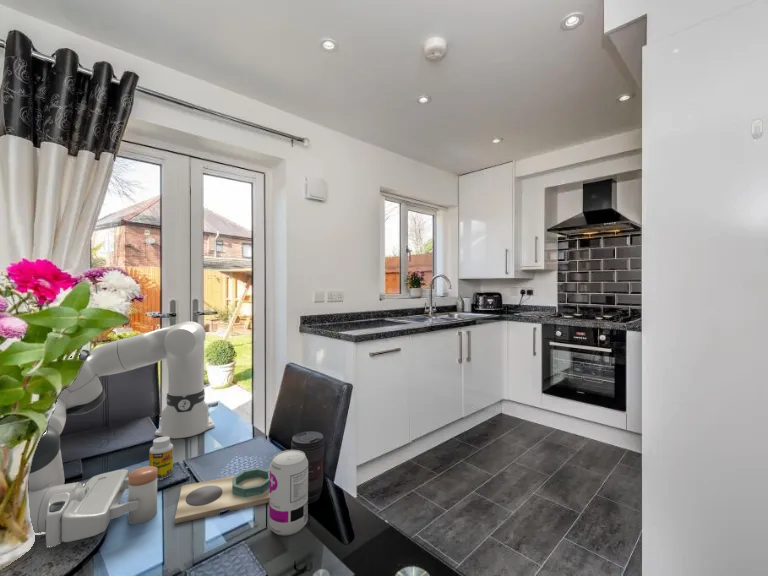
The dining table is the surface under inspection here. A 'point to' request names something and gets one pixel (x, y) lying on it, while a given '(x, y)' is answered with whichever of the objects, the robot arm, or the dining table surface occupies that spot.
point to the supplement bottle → (162, 456)
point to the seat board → (223, 494)
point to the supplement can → (288, 492)
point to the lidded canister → (143, 493)
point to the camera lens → (311, 460)
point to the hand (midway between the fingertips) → (143, 491)
